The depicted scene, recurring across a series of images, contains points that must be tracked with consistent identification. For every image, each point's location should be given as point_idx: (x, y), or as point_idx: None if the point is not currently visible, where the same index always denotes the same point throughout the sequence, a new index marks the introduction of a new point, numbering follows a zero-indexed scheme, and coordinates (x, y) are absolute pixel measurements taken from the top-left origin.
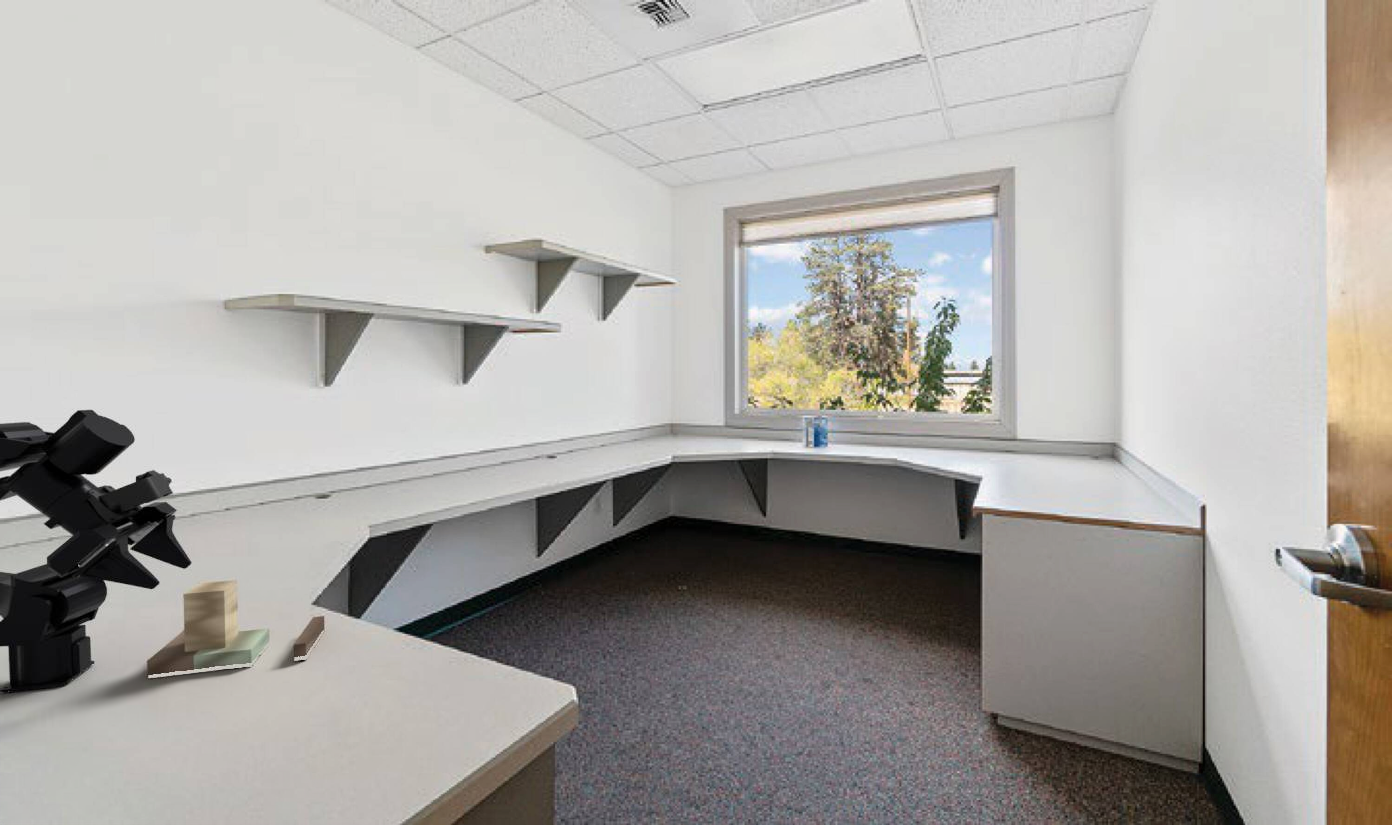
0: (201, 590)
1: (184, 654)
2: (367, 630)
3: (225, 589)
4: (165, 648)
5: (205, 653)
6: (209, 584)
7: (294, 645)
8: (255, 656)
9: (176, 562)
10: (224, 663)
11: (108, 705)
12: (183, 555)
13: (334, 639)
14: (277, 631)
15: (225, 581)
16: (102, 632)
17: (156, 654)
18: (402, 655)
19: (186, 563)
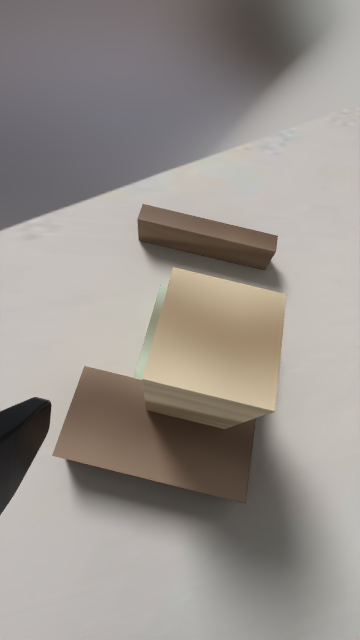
0: (256, 357)
1: (241, 427)
2: (177, 177)
3: (274, 292)
4: (179, 476)
5: None
6: (183, 341)
7: (274, 251)
8: None
9: (17, 473)
10: None
11: (337, 545)
12: (19, 430)
13: None
14: (89, 290)
15: (172, 297)
16: None
17: (211, 490)
18: (302, 158)
19: (42, 419)
